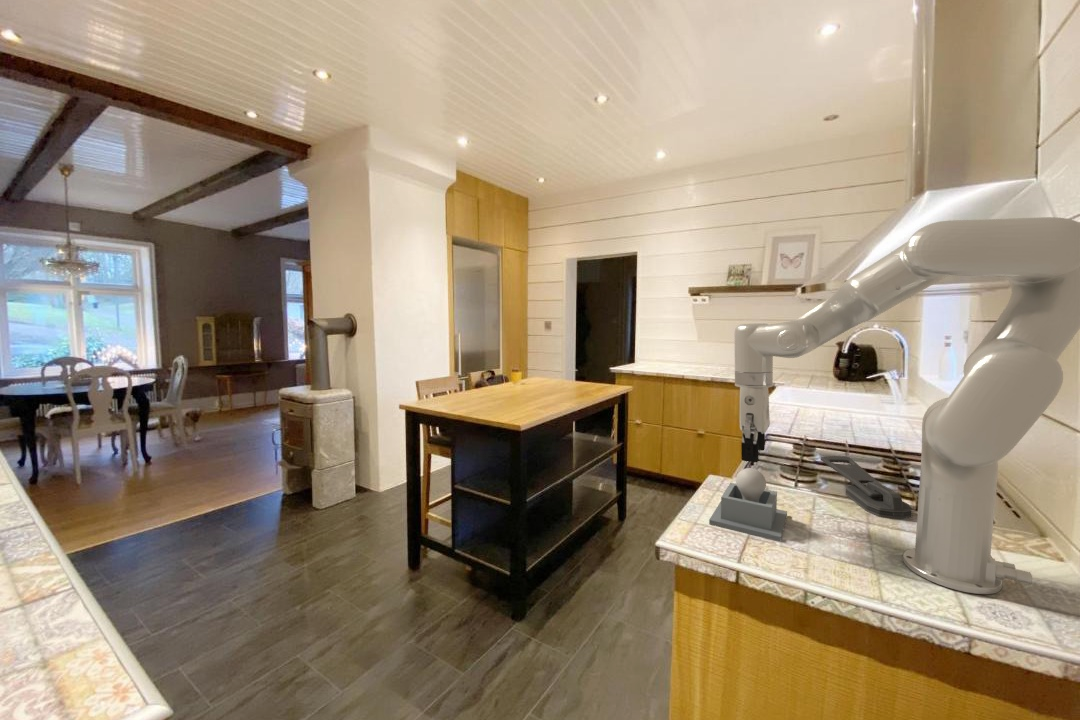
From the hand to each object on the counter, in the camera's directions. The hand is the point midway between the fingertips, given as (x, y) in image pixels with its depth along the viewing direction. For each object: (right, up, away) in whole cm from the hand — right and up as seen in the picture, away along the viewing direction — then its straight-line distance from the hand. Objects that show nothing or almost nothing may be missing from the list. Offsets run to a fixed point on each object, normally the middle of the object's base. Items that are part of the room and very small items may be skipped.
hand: (753, 455), depth 95 cm
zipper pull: (+34, -14, +13) cm, 39 cm away
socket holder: (0, -15, +2) cm, 15 cm away
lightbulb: (0, -14, +1) cm, 14 cm away
